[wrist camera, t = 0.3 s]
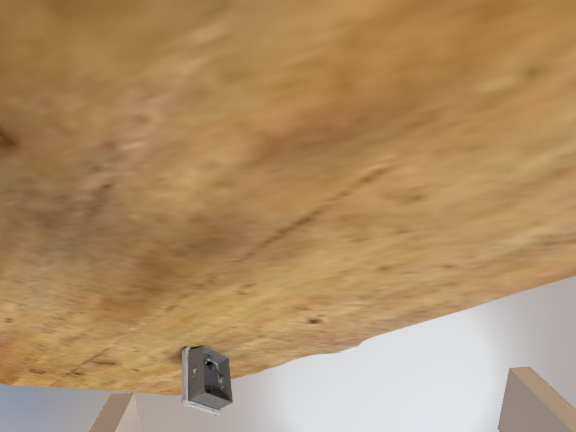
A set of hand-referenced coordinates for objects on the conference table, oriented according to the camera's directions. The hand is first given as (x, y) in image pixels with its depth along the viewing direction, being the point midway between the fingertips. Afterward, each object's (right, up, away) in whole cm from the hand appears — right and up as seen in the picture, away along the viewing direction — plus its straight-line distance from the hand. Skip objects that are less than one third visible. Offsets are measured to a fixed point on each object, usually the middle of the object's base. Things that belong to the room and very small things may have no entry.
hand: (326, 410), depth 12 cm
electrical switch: (-15, -17, +46) cm, 52 cm away
